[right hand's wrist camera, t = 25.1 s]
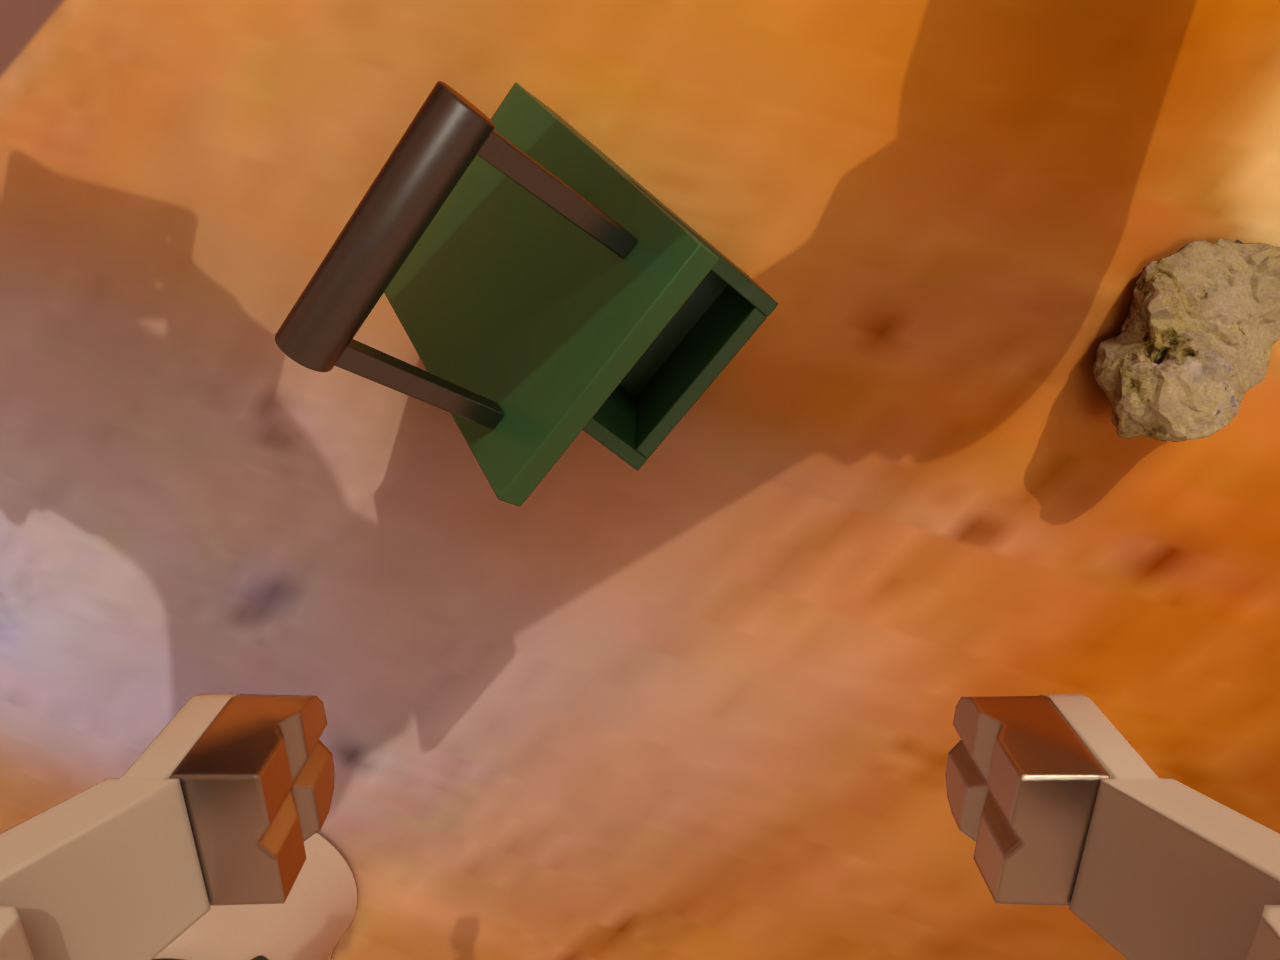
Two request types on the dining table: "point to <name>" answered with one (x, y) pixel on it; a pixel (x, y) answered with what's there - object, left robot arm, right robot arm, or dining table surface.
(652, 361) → the chest
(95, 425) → the dining table surface
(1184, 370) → the rock
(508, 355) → the lid
